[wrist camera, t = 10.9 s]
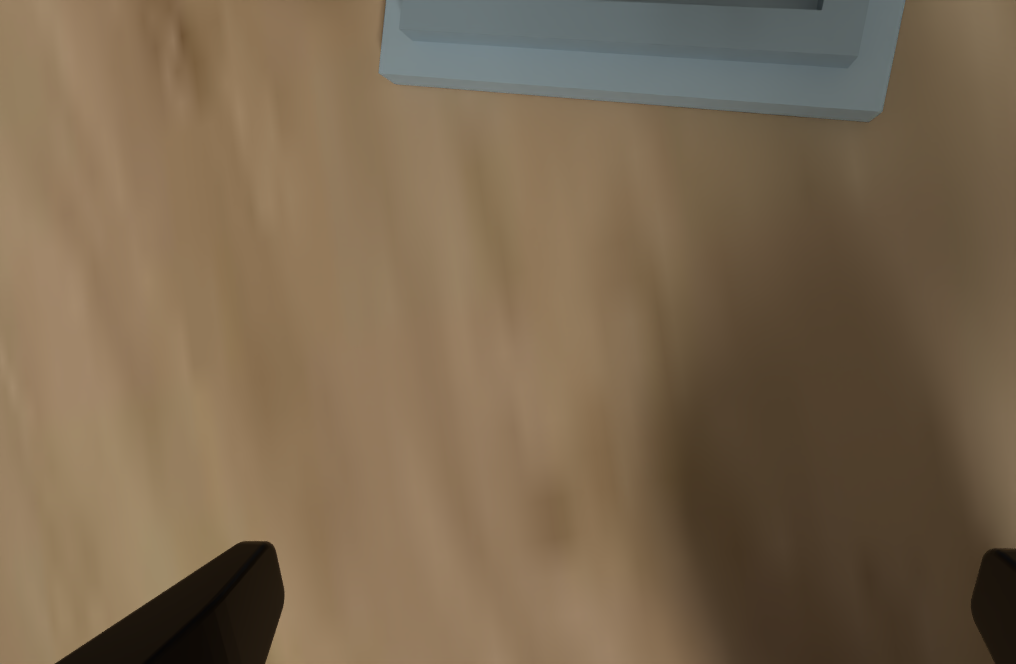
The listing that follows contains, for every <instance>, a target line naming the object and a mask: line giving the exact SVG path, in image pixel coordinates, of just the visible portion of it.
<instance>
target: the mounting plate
mask: <svg viewBox="0 0 1016 664" xmlns="http://www.w3.org/2000/svg"><path fill="white" fill-rule="evenodd" d="M904 5H905V0H386V7H385V17H384V26H383V36H382V46H381V55H380V65H379V74H380V75H382V76H384V77H385V78H387V79H388V80H390V81H391V82H393V83H394V84H401V85H413V86H426V87H438V88H451V89H463V90H476V91H488V92H501V93H513V94H526V95H538V96H550V97H563V98H575V99H588V100H600V101H613V102H625V103H638V104H650V105H662V106H675V107H687V108H700V109H712V110H725V111H737V112H750V113H762V114H774V115H787V116H799V117H812V118H824V119H837V120H849V121H862V122H870V121H871V120H872V119H874V118H875V117H876V116H878V115H879V114H880V113H881V112H882V111H883V106H884V101H885V96H886V92H887V87H888V82H889V77H890V72H891V67H892V63H893V58H894V53H895V48H896V43H897V39H898V34H899V29H900V24H901V19H902V14H903V10H904Z"/></svg>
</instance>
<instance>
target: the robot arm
mask: <svg viewBox="0 0 1016 664" xmlns="http://www.w3.org/2000/svg"><path fill="white" fill-rule="evenodd" d="M283 604H284V586H283V581H282V577H281V572H280V568H279V563H278V558H277V554H276V550H275V547H274V546H273V544H271V543H270V542H267V541H243V542H240V543H238V544H236V545H234V546H233V547H231V548H230V549H228V550H227V551H225V552H224V553H222V554H221V555H219V556H218V557H216V558H215V559H213V560H212V561H210V562H208V563H207V564H205V565H204V566H202V567H201V568H199V569H198V570H196V571H195V572H193V573H192V574H190V575H189V576H187V577H186V578H184V579H183V580H181V581H180V582H178V583H177V584H175V585H174V586H172V587H171V588H169V589H167V590H166V591H164V592H163V593H161V594H160V595H158V596H157V597H155V598H154V599H152V600H151V601H149V602H148V603H146V604H145V605H143V606H142V607H140V608H139V609H137V610H136V611H134V612H133V613H131V614H130V615H128V616H127V617H125V618H123V619H122V620H120V621H119V622H117V623H116V624H114V625H113V626H111V627H110V628H108V629H107V630H105V631H104V632H102V633H101V634H99V635H98V636H96V637H95V638H93V639H92V640H90V641H89V642H87V643H85V644H84V645H82V646H81V647H79V648H78V649H76V650H75V651H73V652H72V653H70V654H69V655H67V656H66V657H64V658H63V659H61V660H60V661H58V662H57V663H55V664H265V663H266V659H267V656H268V653H269V650H270V647H271V644H272V641H273V637H274V634H275V631H276V628H277V625H278V622H279V619H280V615H281V612H282V609H283ZM971 610H972V615H973V618H974V621H975V624H976V626H977V628H978V630H979V632H980V634H981V636H982V638H983V640H984V642H985V644H986V646H987V648H988V650H989V652H990V654H991V656H992V658H993V660H994V662H995V664H1016V549H1008V548H995V549H991V550H988V551H987V552H986V553H985V554H984V556H983V559H982V562H981V566H980V569H979V573H978V577H977V580H976V584H975V588H974V591H973V595H972V599H971Z"/></svg>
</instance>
